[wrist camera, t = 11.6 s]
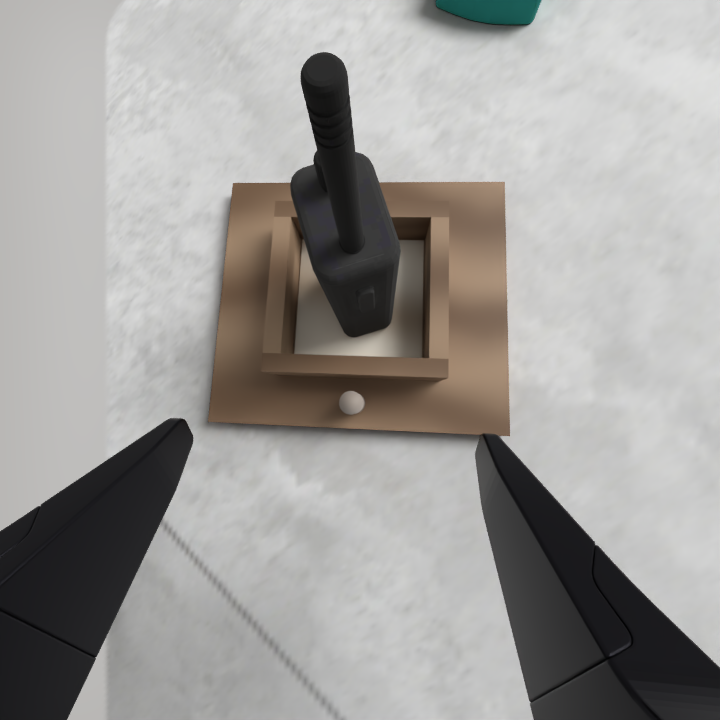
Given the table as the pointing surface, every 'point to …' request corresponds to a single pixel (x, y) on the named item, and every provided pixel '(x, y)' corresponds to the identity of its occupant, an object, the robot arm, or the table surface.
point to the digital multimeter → (493, 10)
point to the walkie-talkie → (344, 208)
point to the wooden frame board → (377, 349)
